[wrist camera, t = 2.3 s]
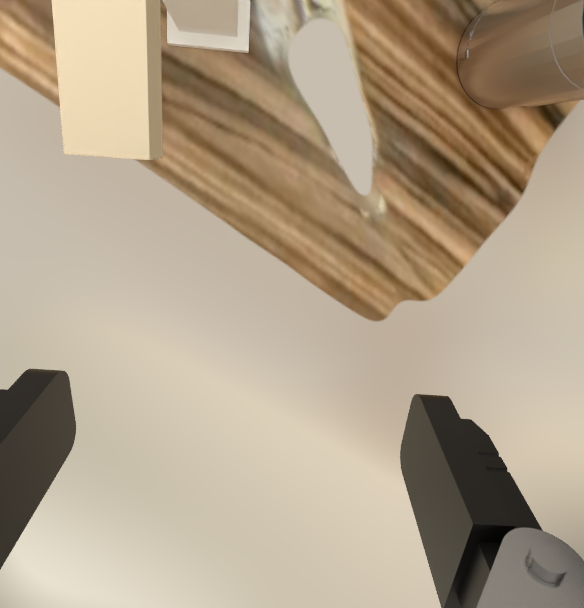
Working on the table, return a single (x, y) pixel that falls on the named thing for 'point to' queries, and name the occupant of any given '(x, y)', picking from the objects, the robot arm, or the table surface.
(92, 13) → the rubber mallet
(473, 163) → the table surface
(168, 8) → the pale stand
